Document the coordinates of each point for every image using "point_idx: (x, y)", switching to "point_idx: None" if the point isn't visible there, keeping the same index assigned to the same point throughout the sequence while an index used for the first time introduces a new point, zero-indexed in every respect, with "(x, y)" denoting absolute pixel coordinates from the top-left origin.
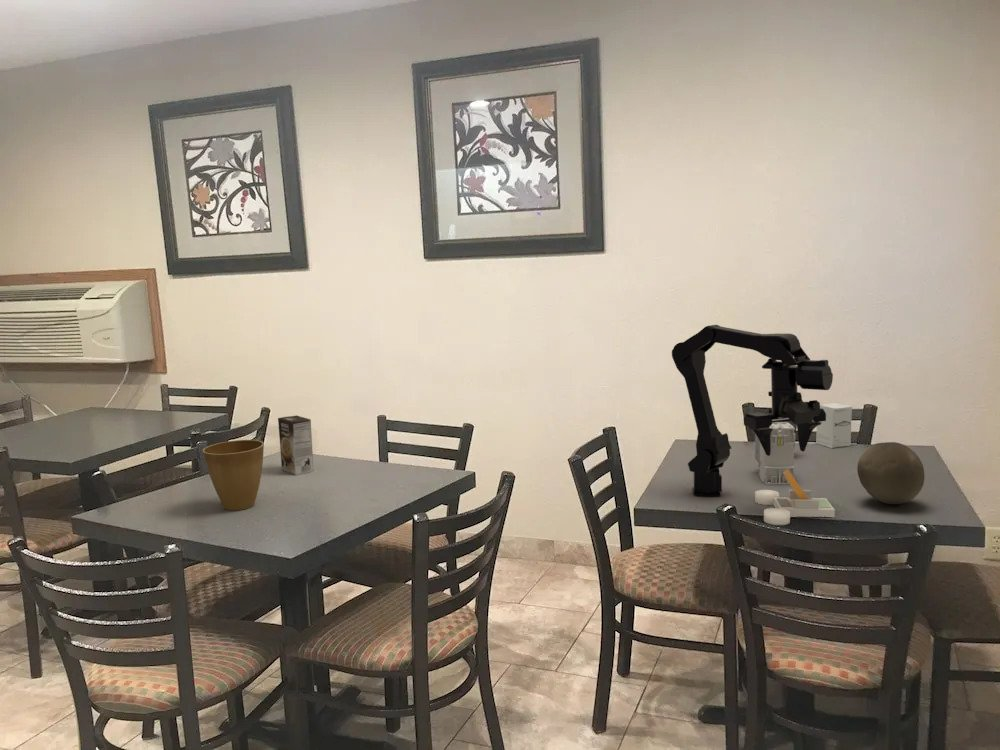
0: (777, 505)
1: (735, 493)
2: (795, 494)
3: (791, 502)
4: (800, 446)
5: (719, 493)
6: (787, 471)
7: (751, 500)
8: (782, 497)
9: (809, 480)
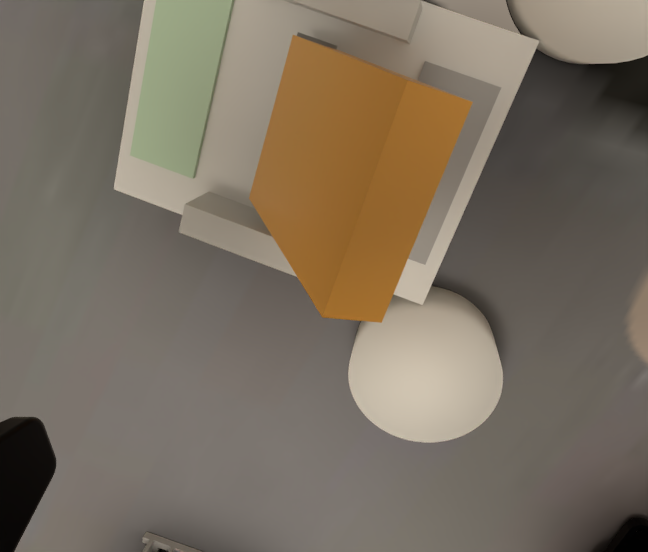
0: (490, 148)
1: (506, 526)
2: None
3: None
4: (15, 511)
5: (629, 537)
6: (357, 272)
7: None
8: None
9: (60, 547)
